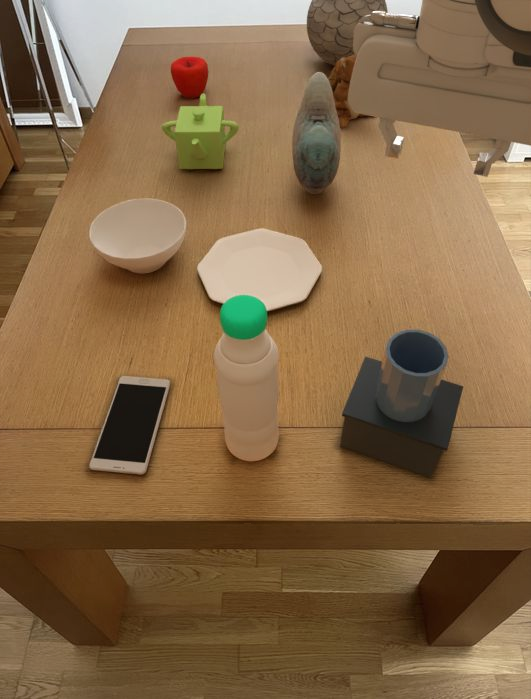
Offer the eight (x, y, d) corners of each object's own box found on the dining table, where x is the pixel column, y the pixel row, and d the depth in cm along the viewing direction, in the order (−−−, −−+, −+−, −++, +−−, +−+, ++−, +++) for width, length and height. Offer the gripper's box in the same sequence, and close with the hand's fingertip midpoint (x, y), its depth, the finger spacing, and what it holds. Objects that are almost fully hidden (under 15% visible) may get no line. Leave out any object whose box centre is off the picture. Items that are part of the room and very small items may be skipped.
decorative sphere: (297, 76, 142) (299, -14, 127) (314, 44, 155) (317, -41, 139) (375, 85, 139) (387, -7, 123) (386, 51, 151) (398, -36, 136)
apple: (195, 82, 141) (192, 49, 135) (218, 94, 137) (215, 60, 131) (166, 94, 138) (161, 61, 132) (188, 106, 133) (184, 73, 127)
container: (448, 421, 76) (463, 386, 70) (433, 481, 70) (447, 448, 64) (358, 392, 79) (365, 356, 73) (336, 447, 74) (342, 413, 68)
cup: (436, 387, 70) (453, 339, 63) (424, 429, 66) (441, 383, 59) (383, 370, 72) (394, 322, 65) (368, 411, 68) (378, 364, 61)
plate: (187, 252, 99) (186, 246, 98) (291, 226, 103) (291, 219, 102) (222, 330, 87) (221, 323, 86) (337, 296, 91) (338, 290, 90)
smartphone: (171, 379, 80) (144, 473, 71) (171, 381, 81) (145, 476, 71) (119, 374, 81) (86, 468, 71) (120, 377, 82) (88, 470, 72)
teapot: (207, 134, 125) (202, 86, 117) (251, 156, 119) (250, 107, 111) (155, 163, 118) (146, 114, 110) (199, 187, 112) (193, 138, 104)
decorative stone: (339, 220, 104) (349, 117, 89) (290, 219, 105) (292, 116, 89) (335, 159, 118) (344, 60, 102) (292, 158, 118) (294, 59, 103)
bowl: (80, 277, 96) (69, 245, 90) (129, 222, 105) (121, 190, 100) (164, 301, 92) (157, 268, 86) (206, 241, 101) (202, 209, 96)
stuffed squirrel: (343, 130, 125) (348, 70, 115) (309, 104, 133) (311, 45, 123) (379, 119, 128) (388, 59, 118) (344, 94, 136) (349, 35, 126)
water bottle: (268, 470, 72) (264, 342, 53) (217, 454, 73) (195, 324, 54) (285, 426, 76) (288, 292, 57) (237, 411, 78) (224, 276, 58)
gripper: (345, 20, 51) (334, 159, 61) (590, 55, 45) (530, 200, 56) (366, -4, 54) (351, 131, 65) (594, 25, 49) (538, 167, 59)
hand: (436, 163), depth 60 cm, fingers open, 8 cm apart
